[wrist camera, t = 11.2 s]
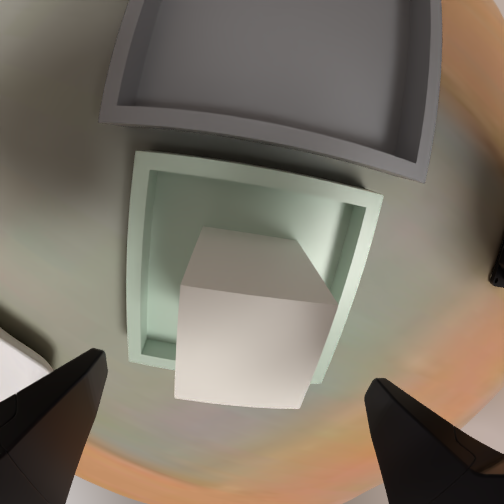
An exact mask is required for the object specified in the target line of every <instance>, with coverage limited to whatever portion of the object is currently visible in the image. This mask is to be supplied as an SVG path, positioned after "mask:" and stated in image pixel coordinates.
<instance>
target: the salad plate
mask: <svg viewBox="0 0 504 504" xmlns="http://www.w3.org/2000/svg"><path fill="white" fill-rule="evenodd" d="M53 371H54V370H53V368H52V367H51V366H50V365H49V363H48V362H47V361H46V360H45V359H44V358H43V357H41V356H40V355H39V354H37V353H36V352H35V351H33V350H32V349H30V348H29V347H27V346H26V345H24V344H23V343H21V342H20V341H18V340H17V339H15V338H14V337H12V336H11V335H9V334H8V333H7V332H5V331H4V330H3V329H1V328H0V402H1V401H3V400H5V399H6V398H8V397H10V396H12V395H13V394H17V392H19V391H20V390H22V389H24V388H25V387H27V386H29V385H30V384H32V383H34V382H36V381H37V380H39V379H41V378H42V377H44V376H46V375H47V374H49V373H51V372H53Z"/></svg>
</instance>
